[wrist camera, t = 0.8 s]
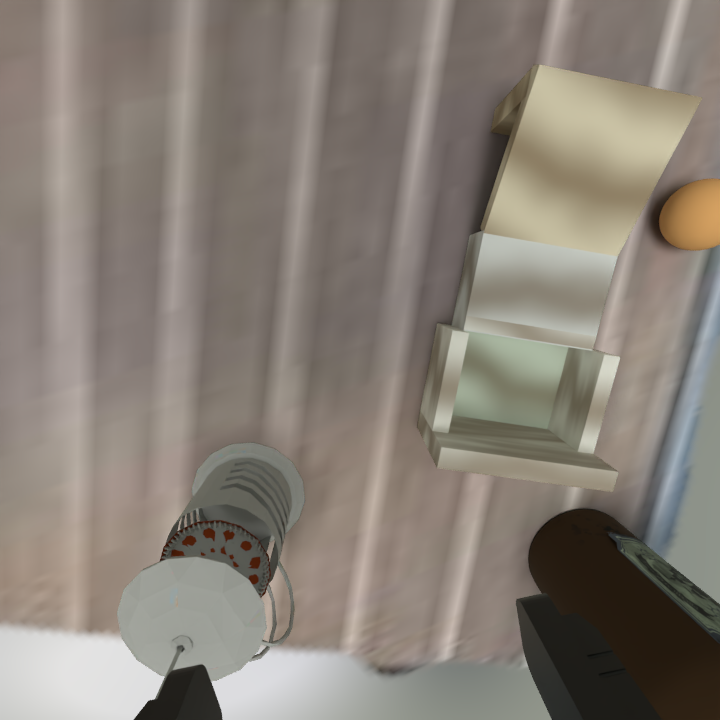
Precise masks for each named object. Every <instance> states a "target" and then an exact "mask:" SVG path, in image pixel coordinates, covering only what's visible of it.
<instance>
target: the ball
mask: <svg viewBox="0 0 720 720" xmlns="http://www.w3.org/2000/svg"><path fill="white" fill-rule="evenodd" d="M659 226H660V230H661V233H662V235H663V236H664V238H665V239H666V240H667V241H668V242H669V243H670V244H672V245H673V246H675V247H678V248H680V249H684V250H704V249H709V248H712V247H715V246H717V245H719V244H720V179H703V180H698V181H695V182H692V183H689V184H687V185H685V186H683V187H682V188H680V189H679V190H677V191H676V192H675V193H674V194H672V196H671V197H670V198H669V199H668V200H667V201H666V203H665V204H664V206H663V208H662V210H661V213H660V217H659Z"/></svg>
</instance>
